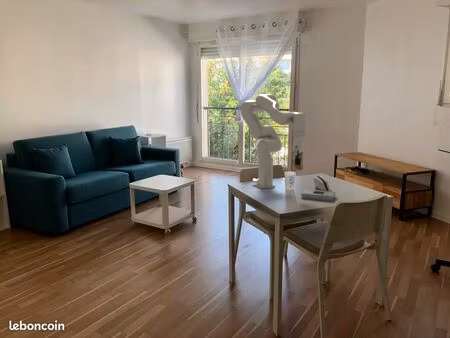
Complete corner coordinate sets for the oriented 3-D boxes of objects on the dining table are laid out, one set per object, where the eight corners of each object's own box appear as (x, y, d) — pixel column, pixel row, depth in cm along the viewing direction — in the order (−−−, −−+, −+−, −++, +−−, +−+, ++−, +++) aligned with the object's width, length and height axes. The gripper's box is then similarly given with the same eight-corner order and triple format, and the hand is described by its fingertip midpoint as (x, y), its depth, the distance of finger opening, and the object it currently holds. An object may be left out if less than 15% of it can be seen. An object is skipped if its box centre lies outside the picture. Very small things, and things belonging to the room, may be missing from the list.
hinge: (333, 192, 232) (328, 178, 229) (326, 195, 232) (321, 181, 229) (322, 185, 248) (318, 172, 246) (315, 188, 248) (311, 175, 245)
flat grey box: (301, 198, 222) (301, 193, 222) (305, 193, 231) (305, 189, 231) (332, 201, 215) (332, 196, 214) (335, 196, 224) (335, 191, 223)
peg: (294, 169, 224) (294, 153, 222) (296, 168, 227) (296, 152, 225) (301, 170, 222) (301, 153, 220) (302, 168, 225) (303, 152, 223)
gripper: (296, 132, 229) (296, 161, 233) (288, 135, 214) (288, 166, 218) (308, 132, 226) (308, 162, 229) (301, 135, 211) (301, 167, 215)
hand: (298, 163), depth 224 cm, fingers closed on peg, 4 cm apart
